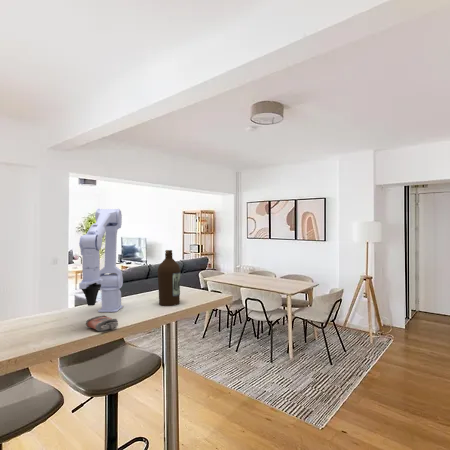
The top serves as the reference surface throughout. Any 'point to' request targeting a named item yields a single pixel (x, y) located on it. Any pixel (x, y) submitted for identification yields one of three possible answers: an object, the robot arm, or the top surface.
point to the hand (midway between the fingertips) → (91, 305)
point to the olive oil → (169, 281)
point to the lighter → (101, 323)
